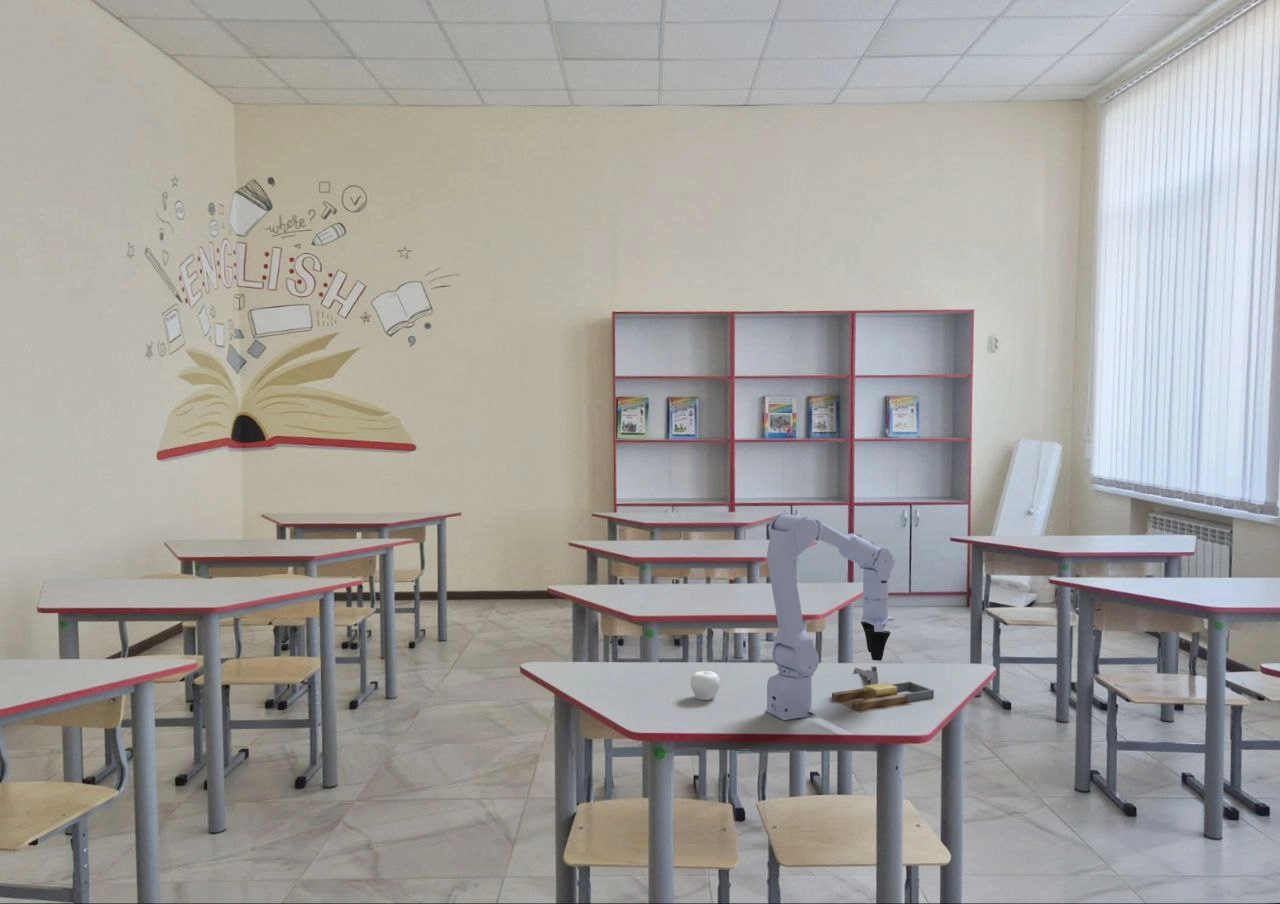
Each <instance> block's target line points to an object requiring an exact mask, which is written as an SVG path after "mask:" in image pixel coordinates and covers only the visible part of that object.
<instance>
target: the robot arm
mask: <svg viewBox="0 0 1280 904" xmlns="http://www.w3.org/2000/svg"><path fill="white" fill-rule="evenodd" d="M767 528H768V533H769V535H768V536H769V541H768V546H767V551H766V560H767V564H768V565H767V566H768V571H769V578H770V579H769V580H770V583H771V584H770V585H771V589H772V595H773V602H774V607H775V614H776V621H777V627H778V632H777V633H776V634H775V635H774V636H773V638H772V640H773V642H772V643H773V647H772V652H771V657H772V660H773V663H774V664H775V665H776V666H777V668H776V670H777V671H778V673H777V674H774V675H772V676H770V677H768V680H767V683H766V708H764V710H765V712H767V713H769V714H771V715H773V716H775V717H777V718H778V719H781V720H782V721H787V720H788V721H789V720H797V719H801V718H807V717H813V716H814V717H815V716H816V714H815V713H813V712H811V710H812V709H813V708H812V707H813V705H812V704H813V702H812V701H813V698H812V696H813V695H812V693H813V684H812V682H813V677H812V676H814V673H815V672H816V671H817V668H818V667H819V663H820V657H819V656H820V655H819V653H818V651H817V649H816V648H815V646H814V641H813V639H812V638H811V636H810V635H809V634H808V632H807V631H806V630H805V627H804V626H805V625H804V621H803V613H802V608H801V601H800V596H799V588H798V583H797V582H798V581H797V576H796V571H795V565H794V564H795V563H794V562H795V560H796V559H797V557H798V556H800V555H801V554H802V553H803V552H804V551H806V550H807V549H808V548H809V547H810V546H811V545H813V543H814V542H815V541H817V542H818V541H821V542H823V543H826V544H827V545H830V546H833V547H835V548H836V549H838V552H839V555H840V556H842V557H843V558H845V559H847V560H849V561H851V562H853V563H855V564H857V565H858V566H859V568H860V569H862V572H863V573H862V574H863V575H862V577H863V578H862V616H861V621H860V625H861V627H862V629H863V631H864V636H865V640H866V647H867V651H868V653H870V657H871V660H872V661H880V662H881V661H882V660H883V658H884V657H883V656H884V652H885V648H886V643H887V641H888V640H889V638H890V635H891V631H890V630H884V628H885V626H886V624H887V623H888V622H893V621H894V617H893V616H889V580H890V578H891V573H892V570H893V568H894V566H895V562H896V560H895V559H894V557H893V554H892V553H891V552H890V550H889V549H887V548H885V547H878V546H877V545H876V542H874V541H871V540H870V541H868V540H867V539H864V538H862V534H860V533H858V532H857V533H856V532H854V533H848V534H843V533H842V532H840V531H838V530H837V529H835V528H833V527H831V526H830V525H828V524H826V523H825V522H823V521H821V520H820V519H816V518H813V517H812V516H808V515H806V516H802V515H796V514H789V513H786V512H780V513H779V514H777V515H775V516H774V518H773V519H772V520H771V522H770V523H769V525H768V527H767Z"/></svg>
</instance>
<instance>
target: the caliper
mask: <svg viewBox="0 0 1280 904" xmlns="http://www.w3.org/2000/svg"><path fill="white" fill-rule="evenodd" d="M853 671H854V673H856V675H858V674H861V676H863V677H865V678H866V681H867V682H870V685H872V684H879V680H878V679H879V678H878V677H879V676H878V669H877V666H875V665H874V666H872V665H871V666H870V668H869V669H866V668H862V667H854V670H853Z"/></svg>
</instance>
